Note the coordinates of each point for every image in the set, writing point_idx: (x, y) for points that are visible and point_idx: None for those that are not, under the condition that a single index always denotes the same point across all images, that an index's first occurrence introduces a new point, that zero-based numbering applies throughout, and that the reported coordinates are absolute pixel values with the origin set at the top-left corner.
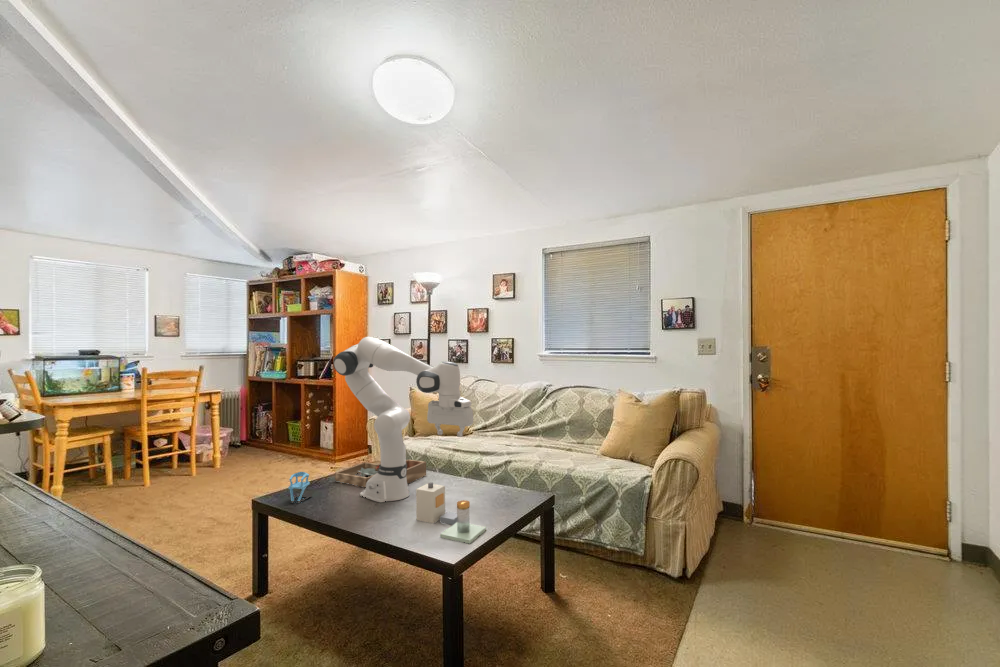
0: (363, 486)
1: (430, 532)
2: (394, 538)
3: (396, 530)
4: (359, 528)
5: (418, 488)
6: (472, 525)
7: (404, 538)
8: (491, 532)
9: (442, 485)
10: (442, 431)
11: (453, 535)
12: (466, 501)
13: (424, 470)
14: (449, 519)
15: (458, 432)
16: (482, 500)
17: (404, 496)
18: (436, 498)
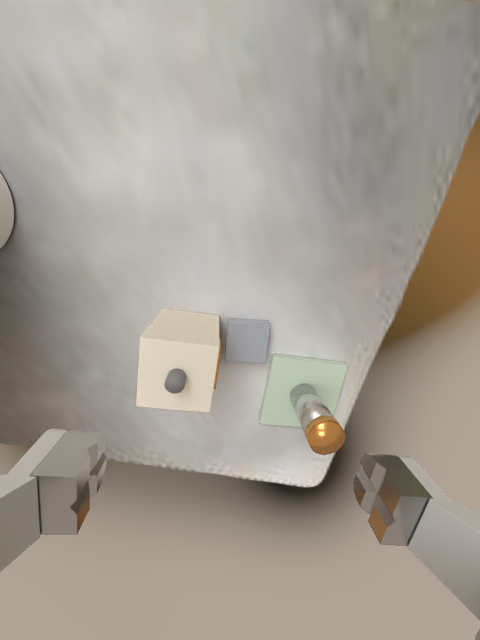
0: None
1: (227, 405)
2: (168, 449)
3: (148, 419)
4: None
5: (140, 398)
6: (315, 366)
7: (188, 443)
8: (358, 367)
9: (209, 346)
10: (88, 467)
11: (289, 421)
12: (334, 430)
13: None
14: (252, 361)
15: (399, 543)
16: (283, 159)
17: (8, 217)
18: (215, 387)
